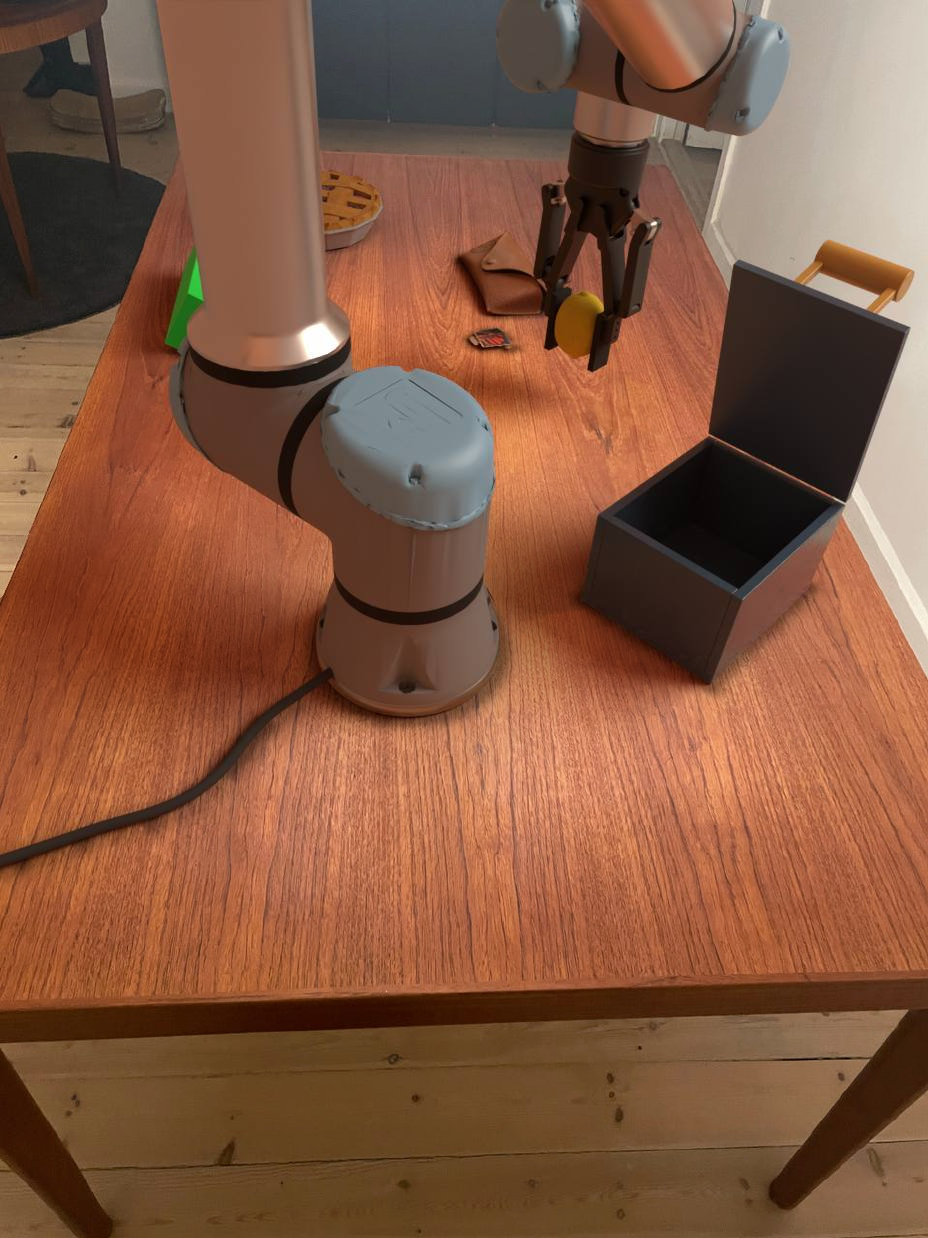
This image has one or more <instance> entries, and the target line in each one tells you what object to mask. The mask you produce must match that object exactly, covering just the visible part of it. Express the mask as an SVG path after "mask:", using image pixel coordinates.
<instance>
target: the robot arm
mask: <svg viewBox="0 0 928 1238" xmlns="http://www.w3.org/2000/svg"><path fill="white" fill-rule="evenodd" d="M155 3H156V4H155V5H156V11H157V16H158V23H159V28H160V36H161V42H162V47H163V53H164V54H163V55H164V60H165V66H166V73H167V78H168V86H169V91H170V98H171V104H172V111H173V117H174V123H175V129H176V135H177V141H178V149H179V154H180V160H181V161H180V162H181V168H182V174H183V180H184V186H185V194H186V199H187V203H188V205H187V206H188V211H189V217H190V224H191V230H192V236H193V243H194V244H195V250H196V256H197V262H198V269H199V275H200V281H201V288H202V294H203V300H204V302H203V303H202V304H201V305H200V306H199V308H198V309H197V310H196V311H195V312H194V313H193V314H192V315H191V317H190V318H189V321H188V323H187V335H186V337H185V338H184V339H183V341H182V342H181V344H180V346H179V348H178V349H176V350H177V353H178V354H179V355H180V356H179V359H178V361H177V362H176V363H172V364H171V366H170V370H169V377H168V400H169V406H170V410H171V414H172V416H173V419H174V422H175V424H176V426H177V428H178V430H179V432H180V433H181V435H182V436H183V438H184V439H185V440H186V442H188V443H189V445H190V446H191V447H192V448H194V449H195V450H196V451H197V452H198V453H199V454H201V455H202V456H203V457H204V458H205V459H206V460H207V461H208V462H209V463H210V464H211V465H212V466H213V467H216V468H217V469H218V470H219V471H221V472H223V473H225V474H227V475H230V476H232V477H233V478H235V479H237V480H238V481H240V482H241V483H243V484H245V485H246V486H248V487H249V488H251V489H253V490H254V491H256V492H257V493H259V494H260V495H262V496H264V497H266V498H267V499H269V500H270V501H272V502H273V503H275V504H276V505H278V506H280V507H281V508H282V509H285V510H286V511H288V512H289V513H291V514H293V515H294V516H296V517H297V518H299V519H300V520H301V521H304V522H306V523H307V524H309V525H310V526H311V527H313V528H314V529H316V530H317V531H319V532H320V533H323V534H324V535H325V536H326V537H327V539H328V540H329V541H330V543H331V554H332V568H333V579H332V581H331V584H330V587H329V589H328V593H327V595H326V598H325V603H324V604H323V606H322V608H321V611H320V613H319V615H318V616H319V617H318V621H317V623H316V624H317V625H316V632H315V635H316V636H315V644H316V645H315V646H316V656H317V660H318V664H319V667H320V670H321V672H319V673H318V674H316V675H314V676H313V677H312V678H311V679H309V680H308V681H306V682H305V683H303V684H302V685H300V686H299V687H297V688H296V689H294V690H293V691H291V692H290V693H288V694H287V695H286V696H284V697H282V698H281V699H279V700H278V701H276V702H275V703H274V704H273V705H271V706H270V707H268V709H266V710H264V712H263V713H262V714H261V715H260V716H258V717H257V718H256V720H254V722H252V723H251V725H249V727H248V728H247V729H246V730H245V731H244V733H243V734H242V735H241V736H240V738H239V739H238V740H237V742H236V743H235V744H234V746H233V747H232V748H231V750H230V751H229V752H228V754H227V755H226V756H225V757H223V759H222V760H221V762H220V763H219V764H218V765H217V766H216V768H214V769H213V770H212V771H211V772H210V773H209V774H208V775H206V776H205V777H204V778H203V779H201V780H200V781H198V783H195V784H194V785H193V786H192V787H190V788H188V789H185V791H183V792H181V793H180V794H179V793H178V794H177V795H176V796H173V797H171V798H169V799H167V800H165V801H162V802H159V803H157V804H154V805H151V806H149V807H145V808H142V809H139V810H136V811H132V812H128V813H125V814H121V815H117V816H114V817H111V818H106V819H103V820H100V821H97V822H94V823H91V824H88V825H84V826H82V827H79V828H76V829H72V830H70V831H67V832H64V833H61V834H59V835H56V836H53V837H49V838H47V839H44V840H41V841H38V842H35V843H32V844H29V845H25V846H22V847H20V848H16V849H13V850H11V851H8V852H7V851H6V852H4V853H0V868H3V867H6V866H9V865H12V864H15V863H18V862H21V861H24V860H27V859H30V858H33V857H36V856H39V855H42V854H45V853H48V852H50V851H54V850H57V849H59V848H62V847H66V846H69V845H72V844H75V843H77V842H80V841H83V840H85V839H88V838H91V837H94V836H97V835H101V834H104V833H107V832H110V831H114V830H117V829H120V828H124V827H128V826H131V825H135V824H138V823H142V822H146V821H148V820H151V819H154V818H157V817H160V816H162V815H166V814H167V813H170V812H172V811H175V810H176V809H178V808H181V807H182V806H185V805H186V804H188V803H190V802H191V801H193V800H195V799H197V798H198V797H200V796H202V794H204V793H205V792H207V791H208V790H209V789H211V788H212V787H213V786H214V785H216V784H217V783H218V782H219V781H220V780H221V779H223V777H224V776H225V775H226V774H227V773H228V772H229V771H230V769H232V768H233V766H235V763H236V762H237V761H238V760H239V759H240V756H242V754H243V753H244V752H245V750H247V748H248V746H249V745H250V744H251V742H252V741H253V740H254V738H256V737H257V735H258V734H259V733H260V732H261V731H262V730H263V729H264V728H265V727H266V725H268V724H269V723H270V722H271V721H272V720H273V719H274V718H276V717H277V716H278V715H279V714H281V713H282V712H283V711H284V710H286V709H288V708H289V707H290V706H292V705H293V704H295V703H296V702H298V701H299V700H301V699H302V698H304V697H306V696H307V695H308V694H310V693H311V692H312V691H314V690H316V689H317V688H318V687H320V686H322V685H323V684H325V683H326V682H328V683H329V684H330V686H331V687H332V688H333V689H334V690H335V691H336V692H337V693H338V694H339V695H341V696H342V697H343V698H345V699H346V700H347V701H349V702H350V703H352V704H353V705H356V706H358V707H360V708H362V709H365V710H368V711H371V712H373V713H378V714H381V715H385V716H393V717H405V718H406V717H422V716H429V715H435V714H438V713H442V712H446V711H448V710H451V709H453V708H457V707H458V706H460V705H462V704H464V703H465V702H467V701H469V700H470V699H471V698H473V697H474V696H476V695H477V694H478V693H479V692H480V691H481V690H482V689H483V688H484V687H485V686H486V684H487V683H488V682H489V680H490V679H491V677H492V676H493V673H494V672H495V669H496V667H497V664H498V660H499V652H500V644H501V643H500V642H501V637H500V626H499V621H498V618H497V614H496V613H495V612H496V611H495V609H494V607H493V604H494V606H495V607H496V609H497V604H496V602H495V599H494V597H493V596H492V593H491V592H490V590H489V589H488V586H487V585H486V583H485V580H484V576H485V575H484V574H485V566H486V558H487V546H488V537H489V525H490V516H491V508H492V507H491V505H492V498H493V495H494V492H495V487H496V480H497V477H496V463H495V458H494V457H495V439H494V433H493V429H492V424H491V421H490V420H489V417H488V416H487V414H486V412H485V410H484V408H483V407H482V406H481V405H480V403H479V402H478V401H477V400H476V399H475V398H474V397H473V396H472V395H471V394H470V393H469V392H468V391H467V390H465V389H464V388H463V387H462V386H460V385H459V384H457V383H455V382H454V381H452V380H450V379H449V378H447V377H444V376H443V375H440V374H438V373H436V372H433V371H429V370H426V369H421V368H417V367H415V368H414V369H412V371H406V370H403V368H402V367H401V365H380V366H373V367H370V368H364V369H361V370H358V371H357V370H356V369H355V367H354V366H353V365H354V364H353V357H352V332H351V331H352V330H351V321H350V317H349V316H348V314H347V313H346V311H345V310H344V309H343V308H342V307H341V306H340V305H338V304H337V303H336V302H335V301H333V300H332V299H331V298H330V297H329V295H328V293H329V292H328V276H327V257H326V256H327V255H326V250H325V237H324V219H323V201H322V184H321V172H322V169H321V168H322V167H321V147H320V132H319V114H318V97H317V77H316V60H315V41H314V24H313V9H312V5H313V4H312V0H155ZM495 33H496V34H495V35H496V37H495V47H496V54H497V58H498V61H499V64H500V66H501V69H502V71H503V72H504V75H505V76H506V78H507V79H508V80H509V81H510V82H511V83H512V84H513V85H514V86H515V87H516V88H518V89H519V90H521V91H523V92H525V93H529V94H540V93H547V94H551V93H553V92H554V93H555V92H558V91H559V90H561V89H564V88H565V89H572V90H574V91H577V93H576V100H575V101H576V102H575V108H574V113H573V120H572V121H573V122H572V124H573V127H574V129H575V131H574V132H573V133H572V135H571V139H570V145H569V153H568V160H567V172H568V174H569V175H568V176H567V177H568V178H567V179H566V180H565V181H564V180H562V179H558V180H554V181H551V182H549V183H546V184H543V185H542V186H541V188H540V190H541V192H540V195H541V202H542V203H541V204H542V213H541V219H540V220H541V221H540V226H539V233H538V238H537V245H536V253H535V258H534V264H533V268H534V270H533V275H534V277H535V278H536V279H540V280H541V281H542V283H543V284H544V287H545V288H546V290H547V292H546V300H545V307H544V312H543V313H544V316H545V317H547V323H546V330H545V337H544V338H545V339H544V344H543V345H544V346H543V349H545V350H546V351H551V350H553V349H556V348H557V347H559V346H558V343H557V341H556V338H555V321H556V316H557V313H558V311H559V308H560V306H561V305H562V303H563V302H564V300H565V299H566V298H568V297H569V296H570V295H572V294H573V293H572V292H573V288H571V287H569V286H565V285H568V284H570V283H571V282H572V280H571V279H570V276H571V274H572V272H573V271H574V270H573V269H574V267H575V265H576V262H577V261H578V257H579V256H580V253H581V251H582V248H583V246H584V244H585V241H586V239H587V236H588V235H589V234H591V235H592V236H593V237H595V238H596V247H597V251H599V252H600V265H601V279H602V280H601V282H602V283H601V284H602V285H601V286H602V300H603V301H602V302H603V303H602V304H603V306H604V311H603V312H601V313H599V314H597V316H596V322H595V328H594V333H593V339H592V345H591V350H590V354H589V357H588V362H587V367H586V370H587V371H588V372H590V373H594V372H596V371H598V370H600V369H602V368H604V367H605V366H607V365H608V362H609V356H610V352H611V346H612V345H613V344H615V343H617V341H618V339H619V337H620V331H621V327H622V322H623V320H625V319H628V318H630V317H631V316H635V315H636V314H637V313H639V312H641V311H642V309H643V303H644V298H645V292H646V287H647V281H648V274H649V269H650V263H651V259H652V258H651V257H652V251H653V245H654V241H655V239H656V238H657V236H658V234H659V232H660V230H661V228H662V225H663V221H662V219H661V218H660V217H658V216H654V217H652V218H651V217H650V216H649V215H648V214H646V212H644V211H643V210H642V209H641V201H640V188H641V185H642V183H643V181H644V179H645V173H646V169H647V163H648V158H649V152H650V148H651V144H650V142H649V140H648V138H649V137H650V136H651V135H653V130H654V125H655V119H656V115H659V116H662V117H666V118H669V119H673V120H676V121H678V122H681V123H684V124H688V125H691V126H694V127H698V128H701V129H703V131H705V132H707V133H708V132H711V131H713V132H718V133H721V134H722V133H723V134H726V135H731V136H735V137H745V136H748V135H750V134H752V133H754V132H755V131H756V130H757V129H759V128H760V126H762V124H763V123H764V122H765V120H766V119H767V118H768V117H769V115H770V114H771V112H772V110H773V108H774V106H775V104H776V102H777V100H778V98H779V95H780V93H781V91H782V88H783V86H784V82H785V79H786V77H787V73H788V68H789V64H790V56H791V43H790V42H791V41H790V36H789V34H788V31H787V29H786V28H785V27H784V26H783V25H782V24H780V23H779V22H776V21H773V20H770V19H767V18H763V17H762V16H761V14H757V13H754V14H748V13H743V12H741V11H739V10H738V8H737V5H736V3H735V1H734V0H504V2H503V4H502V6H501V8H500V12H499V14H498V17H497V22H496V28H495ZM567 205H568V208H569V210H570V213H569V216H568V219H567V221H566V223H565V217H566V211H567ZM564 223H565V226H564ZM630 223H631V230H630V231H629V235H630V237H631V239H630V242H629V246H628V251H627V257H626V253H625V251H626V250H625V245H626V244H627V241H628V232H627V231H628V230H627V229H628V228H627V227H628V226H627V225H629V224H630ZM563 233H564V235H563ZM562 235H563V237H562ZM194 244H193V245H194ZM492 603H493V604H492Z"/></svg>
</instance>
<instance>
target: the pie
mask: <svg viewBox="0 0 928 1238" xmlns="http://www.w3.org/2000/svg"><path fill="white" fill-rule="evenodd" d="M321 184H322V201H323V219H324V237H325V251H330V250H337V249H341V248H347V247H348V248H349V247H351V246H353V245H354V244H357V243H358V242H360V241H362V240H364V238H365V237H366V235H367V234H368V233H369V231H370V229H372V226H373V224H374V222H375V220H376V218H377V217H378V215H379V214H380V213H381V211H382V209H383V208H384V207H383V203H382V198H381V197H382V196H381V194H380V193H379V189H378V187H376V185H374V184H373V183H372V184H371V183H367V182H366V179H365V178H364V177H362V176H359V175H352V176H351V175H346V174H344V173H342V172H341V171H338V170H336V169H334V168H331V169H330V170H328V171H321Z"/></svg>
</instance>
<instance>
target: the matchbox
mask: <svg viewBox="0 0 928 1238" xmlns="http://www.w3.org/2000/svg"><path fill="white" fill-rule="evenodd" d="M468 339H469V342H471V343H472V344H473V345H474V346H478V345H479V344H480V345H481V347H482V348H489V347H496V346H497V347H502V346H505V347H504V349H506V350H507V349H508V350H509V349H513V348H514V346H513V345H512V341H511V340H510V338H509V337H508V336H507V335H506V332H505V331H503V330H501V329H500V328H499V327H492V328H491V327H490V328H484V329H483V328H482V329H481V330H477V331H475V332H474V335H472V336H470V337H469V338H468ZM511 345H512V346H511ZM506 346H507V347H506Z"/></svg>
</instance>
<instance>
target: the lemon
mask: <svg viewBox="0 0 928 1238" xmlns="http://www.w3.org/2000/svg"><path fill="white" fill-rule="evenodd" d="M603 311H604V304H603V303H602V301H601V300H600V298H599V297H597V296H596V295H595V294H593V293H591V292H590V291H589V290H588V289H583V290H582V291H578V292H575V293H572V294H571V295H570V296H569V297H568V298H566V299H565V300H564V302H563V303H562V305H561V306H560V308H559V311H558V313H557V316H556V321H555V338H556V341H557V343H558V346H557V347H559V349H560V350H561V351H562V352H563V353H564V354H566V355H568V356H569V357H571V359H573V360H578V359H579V358H582V357H586V356H588V355H589V356H590V350H591V345H592V339H593V333H594V328H595V322H596V316H597V314H599V313H601V312H603Z"/></svg>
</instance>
